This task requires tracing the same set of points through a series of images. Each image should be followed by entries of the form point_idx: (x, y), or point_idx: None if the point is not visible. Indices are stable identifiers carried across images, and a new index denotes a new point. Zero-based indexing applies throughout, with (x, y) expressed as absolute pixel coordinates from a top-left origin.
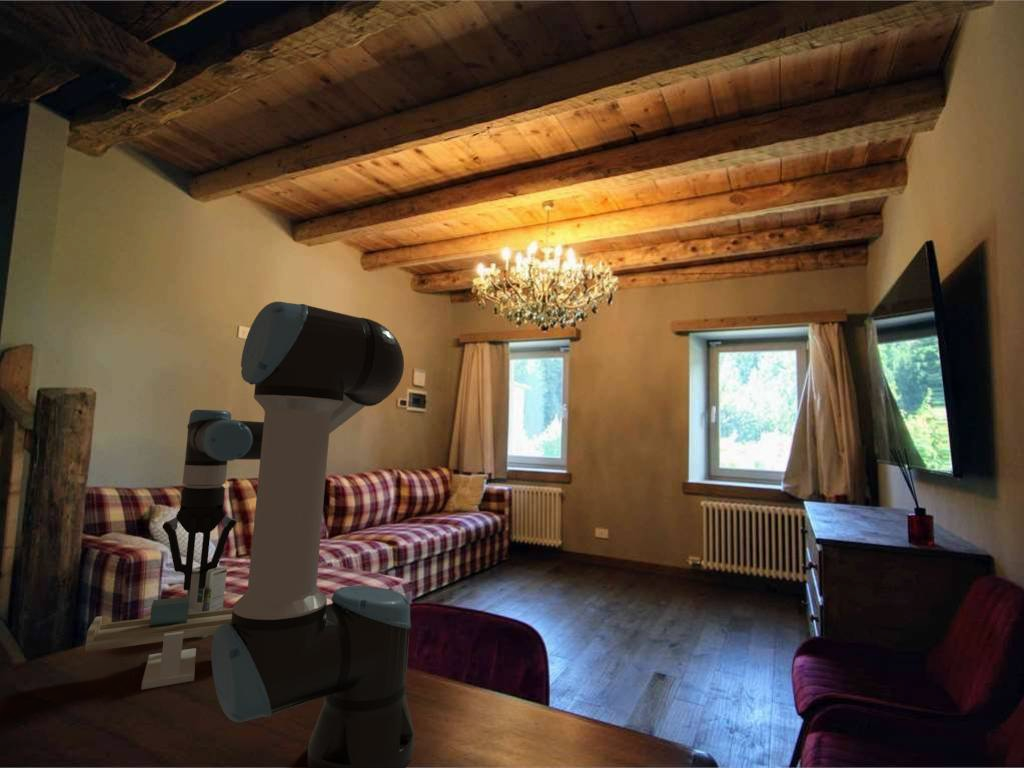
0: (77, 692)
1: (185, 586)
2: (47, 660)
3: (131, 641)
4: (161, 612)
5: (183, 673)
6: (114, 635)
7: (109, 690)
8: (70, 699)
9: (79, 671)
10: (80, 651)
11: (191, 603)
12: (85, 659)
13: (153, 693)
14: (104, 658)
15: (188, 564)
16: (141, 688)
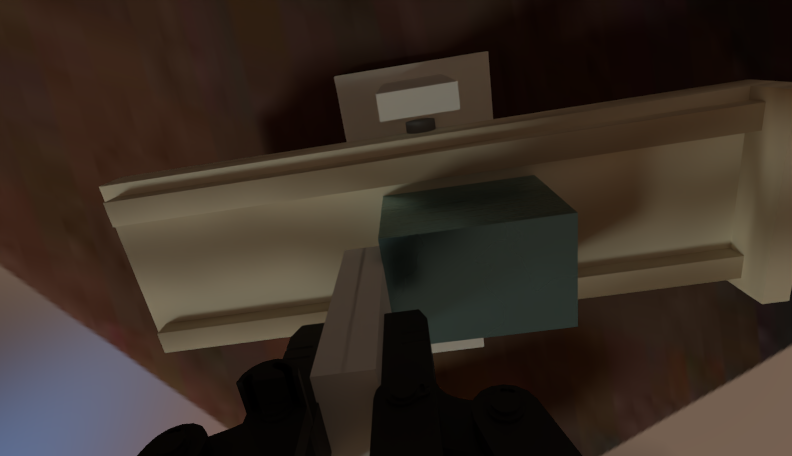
0: (661, 89)
1: (415, 324)
2: (761, 341)
3: (587, 107)
4: (509, 207)
5: (370, 91)
6: (676, 112)
7: (574, 76)
8: (674, 40)
9: None
10: (687, 380)
11: (369, 257)
12: (668, 324)
13: (441, 9)
14: (621, 318)
15: (412, 448)
16: (484, 51)
